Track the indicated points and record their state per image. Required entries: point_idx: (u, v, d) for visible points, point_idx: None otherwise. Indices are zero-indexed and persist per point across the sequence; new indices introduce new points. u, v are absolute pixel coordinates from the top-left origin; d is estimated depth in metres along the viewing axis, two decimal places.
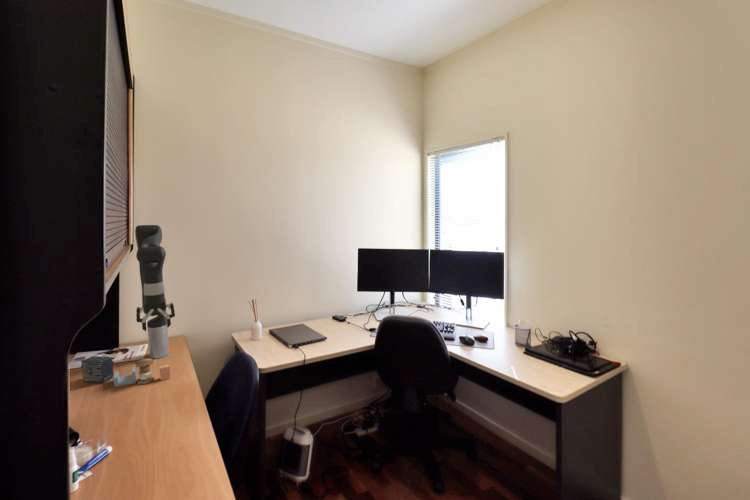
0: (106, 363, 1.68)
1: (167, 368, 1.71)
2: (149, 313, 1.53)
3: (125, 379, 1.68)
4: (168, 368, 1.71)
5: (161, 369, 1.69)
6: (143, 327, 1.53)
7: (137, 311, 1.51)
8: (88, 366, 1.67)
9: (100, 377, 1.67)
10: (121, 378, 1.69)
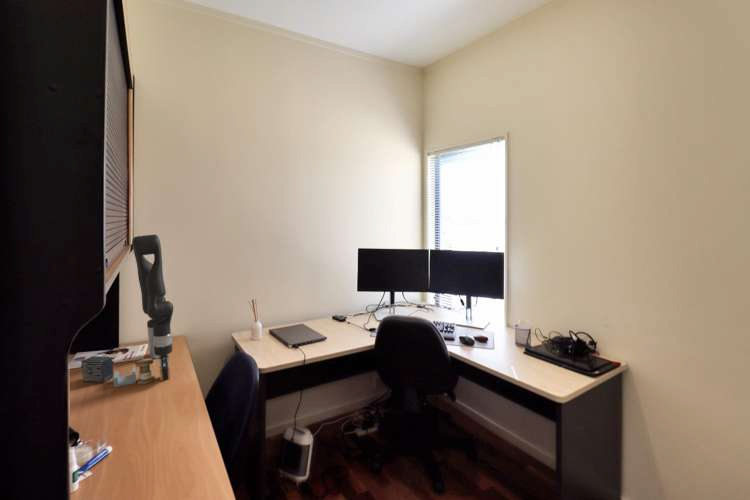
0: (106, 363, 1.68)
1: None
2: None
3: (125, 379, 1.68)
4: (168, 368, 1.71)
5: (161, 369, 1.69)
6: (167, 376, 1.70)
7: (167, 364, 1.66)
8: (88, 366, 1.67)
9: (100, 377, 1.67)
10: (121, 378, 1.69)
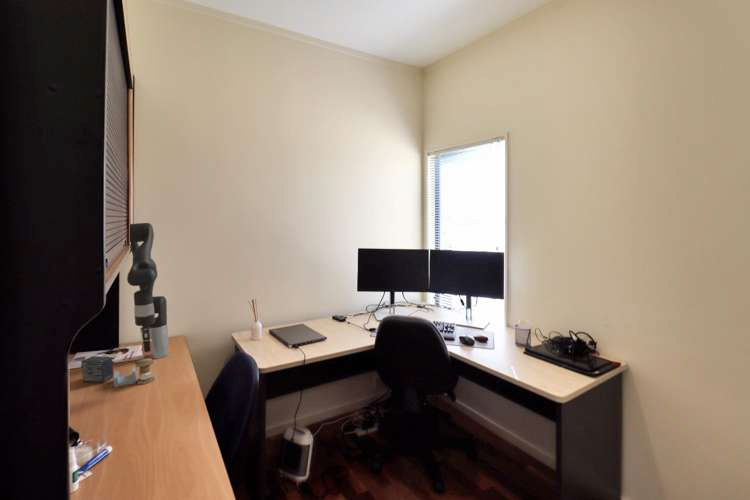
0: (106, 363, 1.68)
1: None
2: (150, 332, 1.61)
3: (125, 379, 1.68)
4: (150, 343, 1.62)
5: (143, 344, 1.60)
6: (149, 348, 1.61)
7: (149, 335, 1.57)
8: (88, 366, 1.67)
9: (100, 377, 1.67)
10: (121, 378, 1.69)
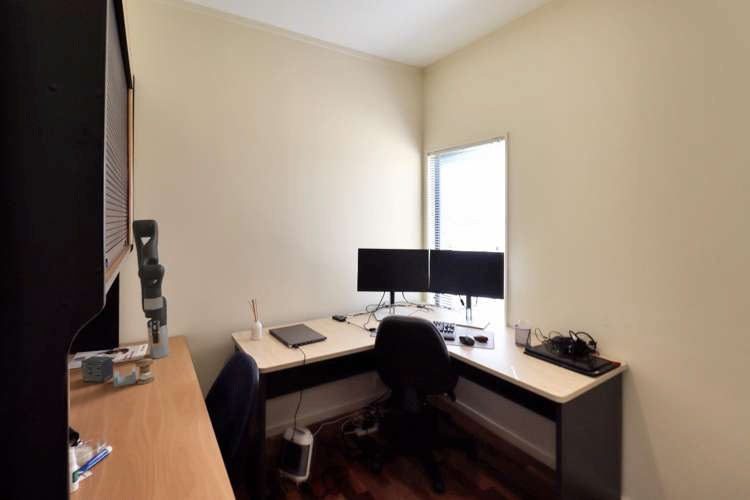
0: (106, 363, 1.68)
1: None
2: (159, 325, 1.69)
3: (125, 379, 1.68)
4: (159, 335, 1.69)
5: (152, 336, 1.68)
6: (157, 340, 1.69)
7: (157, 327, 1.65)
8: (88, 366, 1.67)
9: (100, 377, 1.67)
10: (121, 378, 1.69)
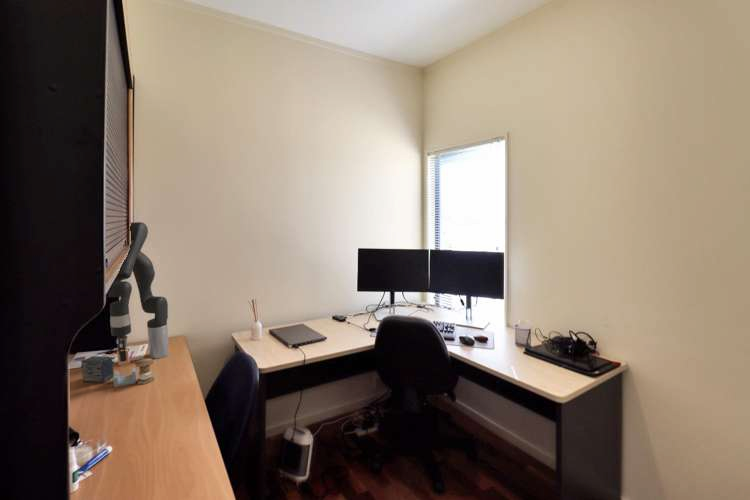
0: (106, 363, 1.68)
1: None
2: (126, 342, 1.66)
3: (125, 379, 1.68)
4: (126, 352, 1.66)
5: None
6: (124, 357, 1.65)
7: (124, 345, 1.62)
8: (88, 366, 1.67)
9: (100, 377, 1.67)
10: (121, 378, 1.69)
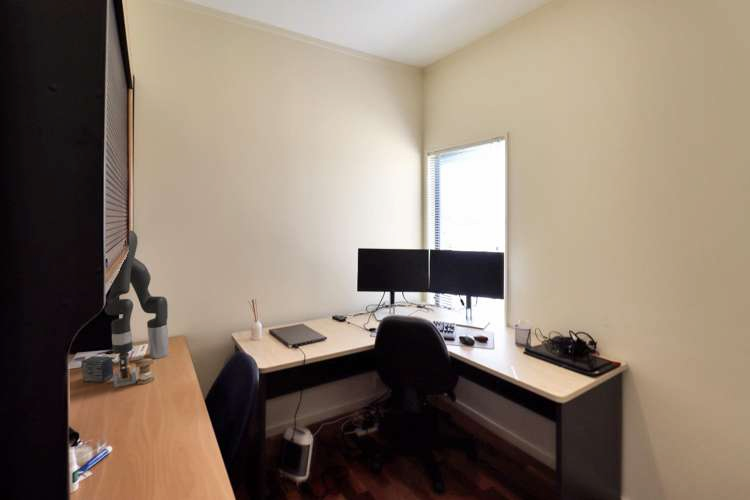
0: (106, 363, 1.68)
1: None
2: (128, 359, 1.66)
3: None
4: (128, 368, 1.67)
5: None
6: (126, 375, 1.65)
7: (126, 361, 1.62)
8: (88, 366, 1.67)
9: (100, 377, 1.67)
10: None
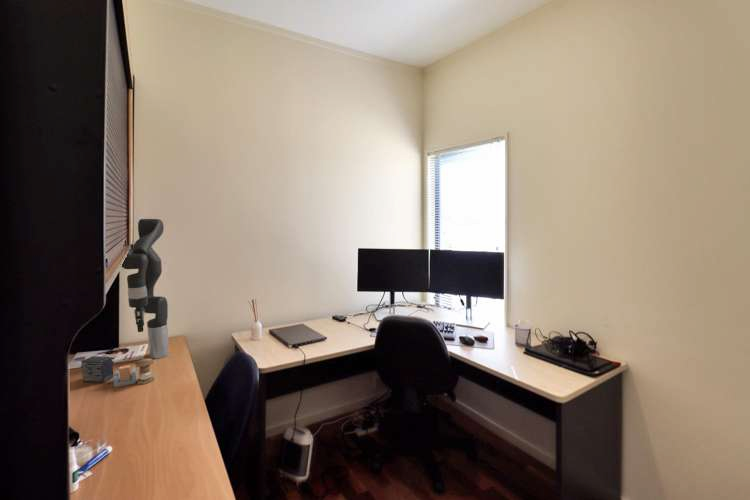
0: (106, 363, 1.68)
1: (127, 368, 1.67)
2: (143, 314, 1.68)
3: None
4: (128, 368, 1.67)
5: (121, 370, 1.66)
6: (142, 328, 1.66)
7: (141, 313, 1.64)
8: (88, 366, 1.67)
9: (100, 377, 1.67)
10: None
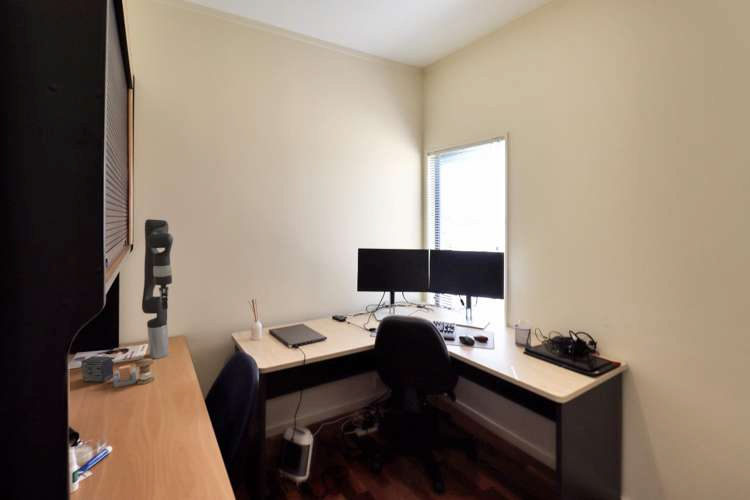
0: (106, 363, 1.68)
1: (127, 368, 1.67)
2: None
3: None
4: (128, 368, 1.67)
5: (121, 370, 1.66)
6: (166, 305, 1.72)
7: (166, 291, 1.70)
8: (88, 366, 1.67)
9: (100, 377, 1.67)
10: None
